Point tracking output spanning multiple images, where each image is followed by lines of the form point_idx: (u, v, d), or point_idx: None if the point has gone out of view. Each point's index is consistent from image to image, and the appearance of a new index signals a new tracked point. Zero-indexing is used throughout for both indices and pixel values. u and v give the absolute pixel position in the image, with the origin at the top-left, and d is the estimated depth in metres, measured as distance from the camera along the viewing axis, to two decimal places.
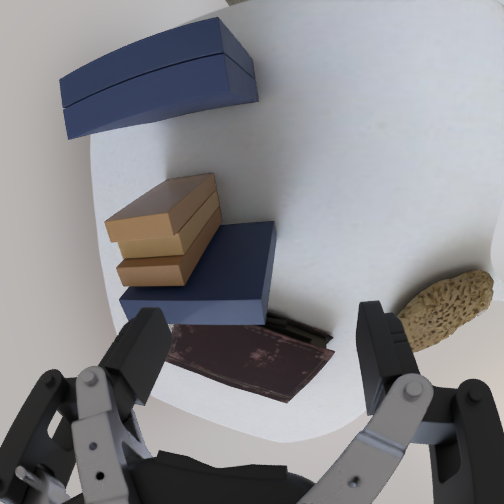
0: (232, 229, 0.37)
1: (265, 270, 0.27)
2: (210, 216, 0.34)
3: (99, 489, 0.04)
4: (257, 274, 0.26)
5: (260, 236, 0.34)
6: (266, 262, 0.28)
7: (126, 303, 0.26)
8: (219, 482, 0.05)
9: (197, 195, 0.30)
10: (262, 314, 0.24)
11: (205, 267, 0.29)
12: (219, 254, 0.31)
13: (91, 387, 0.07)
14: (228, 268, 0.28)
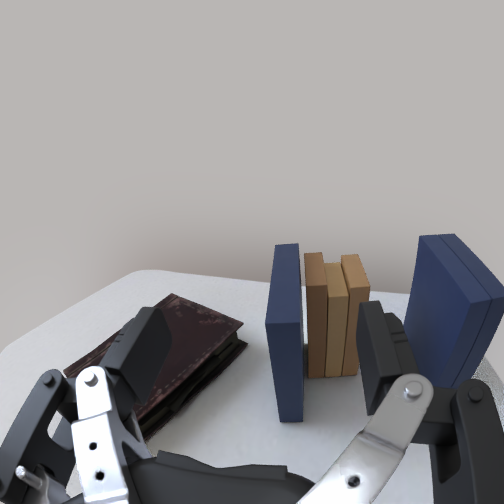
0: (303, 380, 0.33)
1: (301, 358, 0.24)
2: (327, 356, 0.33)
3: (99, 489, 0.04)
4: (301, 347, 0.24)
5: None
6: (301, 368, 0.25)
7: (294, 246, 0.33)
8: (219, 482, 0.05)
9: None
10: (279, 322, 0.22)
11: None
12: (302, 343, 0.30)
13: (91, 387, 0.07)
14: None
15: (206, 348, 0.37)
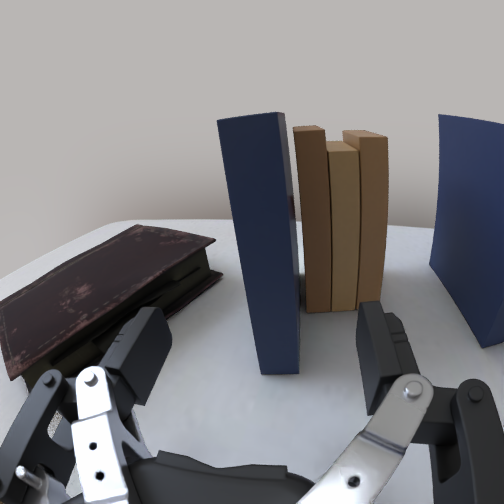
0: None
1: (287, 205, 0.14)
2: (333, 268, 0.23)
3: (98, 489, 0.04)
4: (286, 186, 0.14)
5: (297, 315, 0.18)
6: (290, 233, 0.14)
7: None
8: (219, 482, 0.05)
9: (376, 234, 0.21)
10: None
11: (290, 191, 0.20)
12: None
13: (91, 387, 0.07)
14: None
15: (160, 267, 0.27)
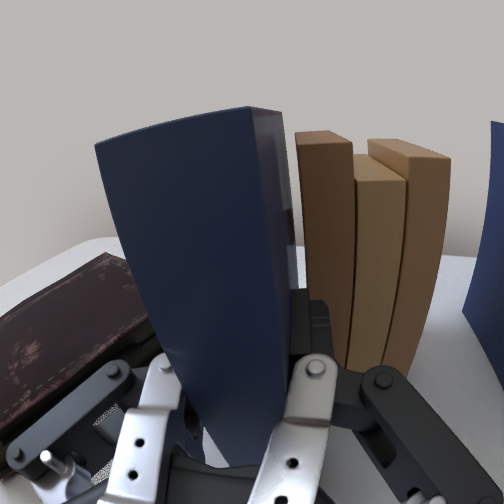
0: None
1: (279, 344, 0.06)
2: (350, 349, 0.15)
3: (125, 487, 0.04)
4: (280, 295, 0.06)
5: None
6: (285, 383, 0.06)
7: None
8: (219, 482, 0.05)
9: (417, 304, 0.13)
10: None
11: (290, 250, 0.12)
12: None
13: (171, 374, 0.08)
14: (288, 275, 0.09)
15: (117, 328, 0.19)
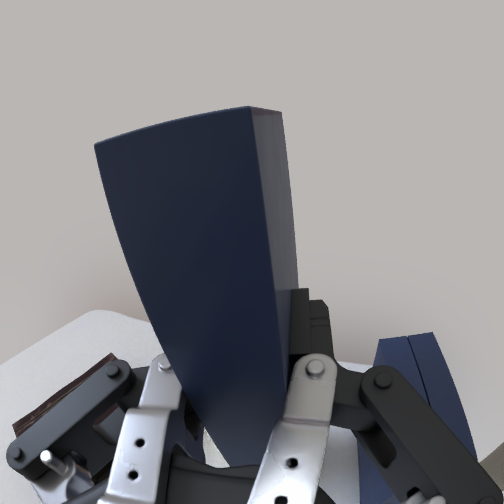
0: None
1: (279, 344, 0.06)
2: None
3: (126, 488, 0.04)
4: (280, 296, 0.06)
5: None
6: (284, 383, 0.06)
7: None
8: (219, 482, 0.05)
9: None
10: None
11: (290, 251, 0.12)
12: None
13: (171, 374, 0.08)
14: (288, 275, 0.09)
15: None
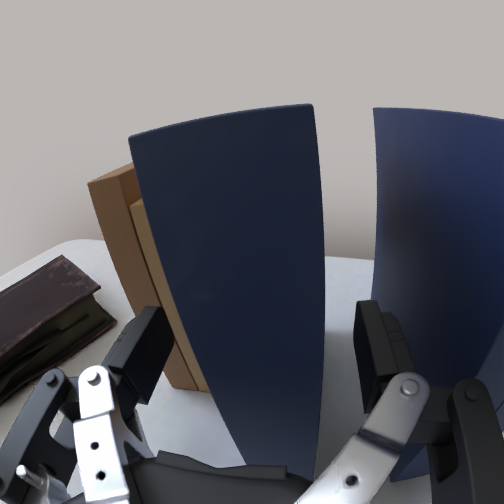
0: None
1: (321, 352, 0.05)
2: (182, 350, 0.17)
3: (100, 489, 0.04)
4: None
5: None
6: (321, 390, 0.06)
7: None
8: (219, 482, 0.05)
9: None
10: None
11: None
12: None
13: (94, 386, 0.07)
14: None
15: (44, 316, 0.21)
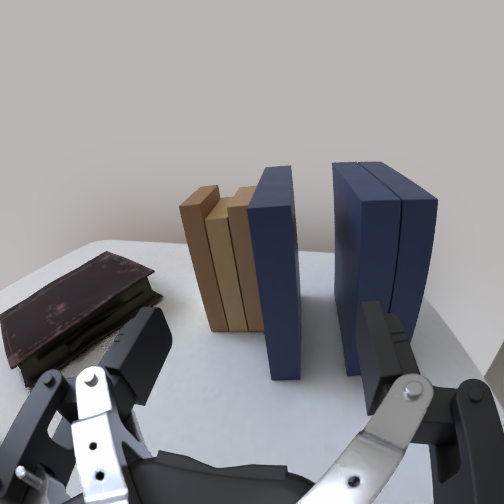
0: (300, 329, 0.29)
1: (295, 267, 0.20)
2: (223, 301, 0.31)
3: (98, 489, 0.04)
4: None
5: (299, 337, 0.24)
6: (296, 285, 0.20)
7: (286, 167, 0.29)
8: (219, 482, 0.05)
9: (251, 277, 0.29)
10: (265, 206, 0.18)
11: None
12: None
13: (91, 387, 0.07)
14: None
15: (112, 292, 0.35)
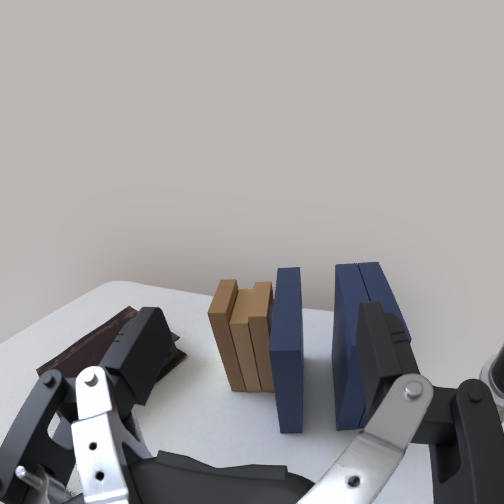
0: None
1: (301, 379, 0.25)
2: (242, 373, 0.37)
3: (99, 489, 0.04)
4: None
5: None
6: (301, 387, 0.26)
7: (296, 270, 0.35)
8: (219, 482, 0.05)
9: (266, 360, 0.35)
10: (282, 349, 0.24)
11: None
12: (302, 362, 0.32)
13: (91, 387, 0.07)
14: None
15: None
